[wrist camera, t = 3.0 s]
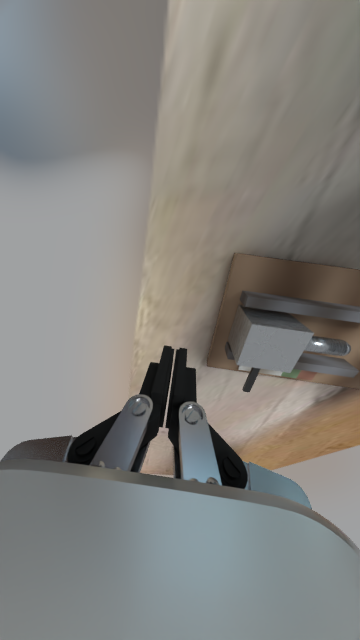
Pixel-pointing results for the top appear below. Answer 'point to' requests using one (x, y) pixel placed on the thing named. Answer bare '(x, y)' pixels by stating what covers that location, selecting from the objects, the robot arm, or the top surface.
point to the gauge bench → (295, 313)
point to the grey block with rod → (275, 341)
